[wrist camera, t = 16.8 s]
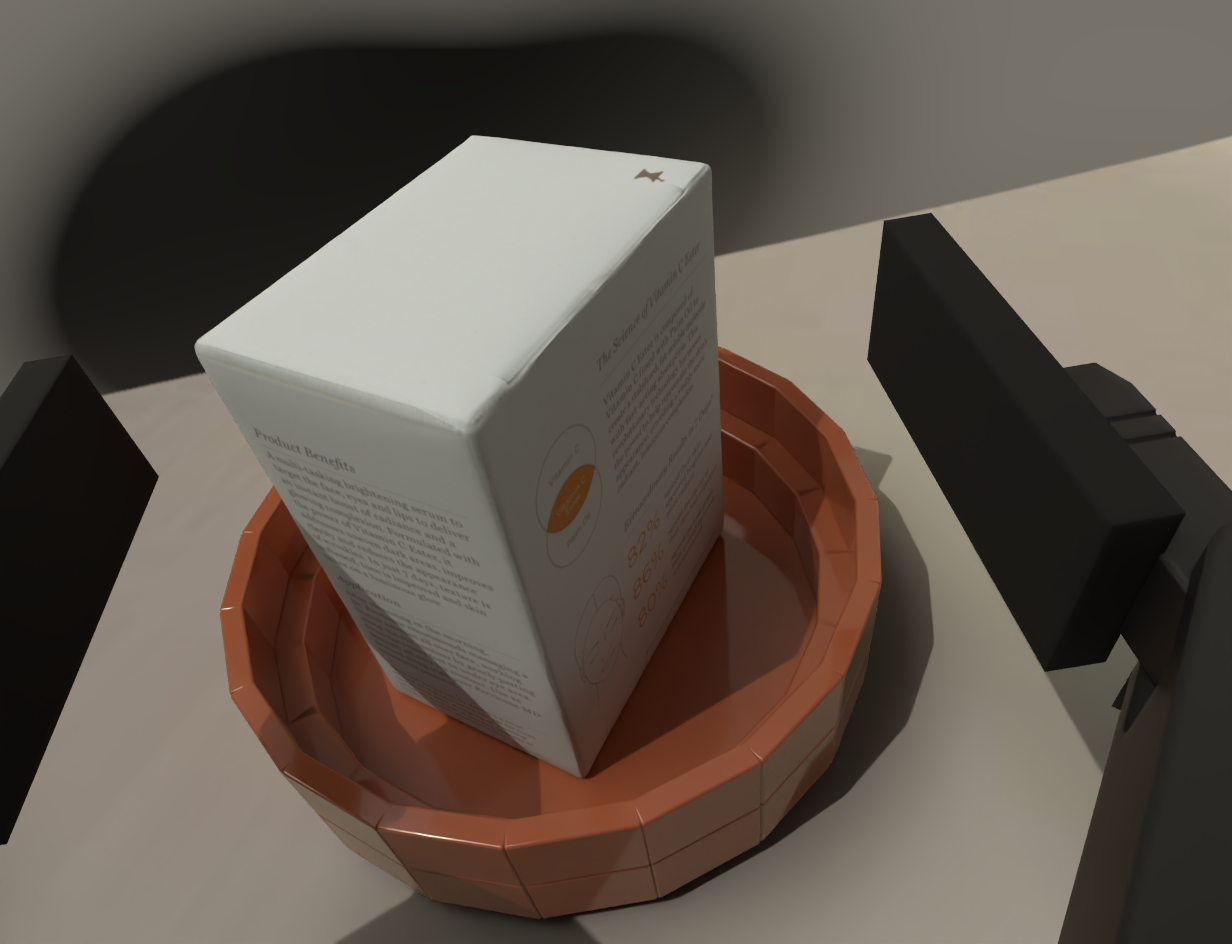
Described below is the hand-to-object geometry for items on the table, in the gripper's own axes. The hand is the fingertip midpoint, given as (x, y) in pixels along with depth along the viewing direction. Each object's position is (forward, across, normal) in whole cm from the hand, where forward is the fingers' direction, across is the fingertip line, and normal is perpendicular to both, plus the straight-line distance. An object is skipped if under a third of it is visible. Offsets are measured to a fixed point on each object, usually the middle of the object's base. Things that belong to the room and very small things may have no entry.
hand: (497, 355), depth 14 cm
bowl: (+2, 0, -10) cm, 10 cm away
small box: (+1, 0, -9) cm, 9 cm away
